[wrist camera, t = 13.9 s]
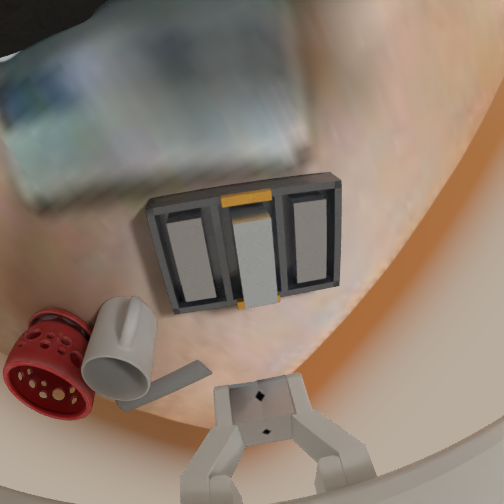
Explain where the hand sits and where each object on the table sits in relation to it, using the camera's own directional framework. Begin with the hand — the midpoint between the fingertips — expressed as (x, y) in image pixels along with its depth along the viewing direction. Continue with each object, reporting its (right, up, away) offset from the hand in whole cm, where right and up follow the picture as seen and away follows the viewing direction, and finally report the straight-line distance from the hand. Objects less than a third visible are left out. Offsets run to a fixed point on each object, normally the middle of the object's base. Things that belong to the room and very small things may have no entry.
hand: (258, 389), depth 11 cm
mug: (-17, -3, +31) cm, 35 cm away
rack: (-1, +6, +28) cm, 29 cm away
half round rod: (-16, -18, +40) cm, 46 cm away
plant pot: (-28, -8, +32) cm, 43 cm away
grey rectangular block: (-1, +6, +27) cm, 28 cm away
